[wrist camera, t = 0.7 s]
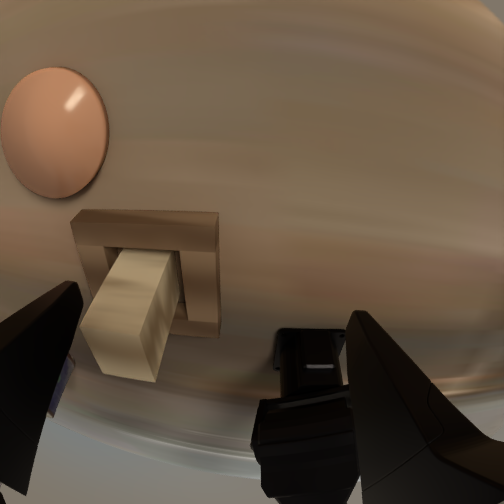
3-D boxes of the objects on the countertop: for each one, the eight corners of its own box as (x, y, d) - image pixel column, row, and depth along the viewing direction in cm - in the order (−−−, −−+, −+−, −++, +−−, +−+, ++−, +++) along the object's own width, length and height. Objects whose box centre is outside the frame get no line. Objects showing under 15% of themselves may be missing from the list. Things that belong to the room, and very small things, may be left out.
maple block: (180, 294, 27) (155, 382, 19) (137, 290, 27) (103, 373, 19) (173, 245, 24) (138, 335, 16) (126, 243, 24) (79, 326, 16)
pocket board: (221, 321, 28) (218, 338, 27) (110, 310, 28) (103, 325, 27) (218, 212, 22) (214, 227, 20) (81, 209, 22) (69, 222, 20)
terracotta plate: (117, 191, 21) (111, 197, 20) (21, 194, 21) (14, 200, 20) (105, 54, 16) (98, 55, 15) (2, 82, 16) (-6, 85, 15)
